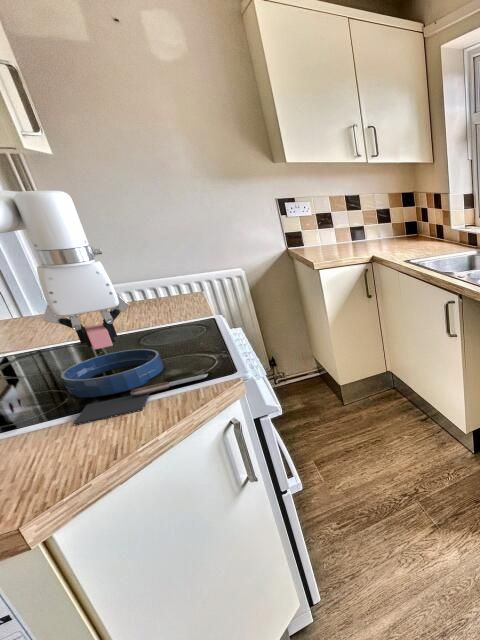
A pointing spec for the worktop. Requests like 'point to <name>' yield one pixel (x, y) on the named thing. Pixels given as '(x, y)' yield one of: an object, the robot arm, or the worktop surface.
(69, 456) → the worktop surface
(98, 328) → the eraser
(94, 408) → the mat
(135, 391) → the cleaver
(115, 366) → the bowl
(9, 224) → the robot arm
